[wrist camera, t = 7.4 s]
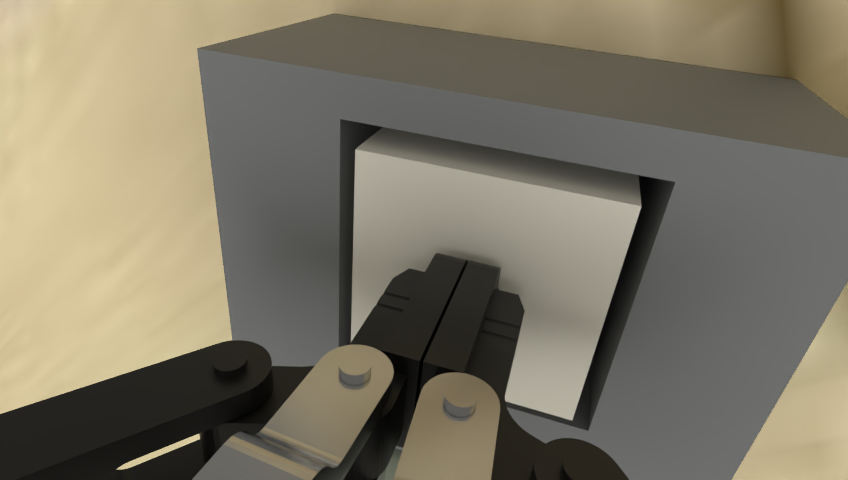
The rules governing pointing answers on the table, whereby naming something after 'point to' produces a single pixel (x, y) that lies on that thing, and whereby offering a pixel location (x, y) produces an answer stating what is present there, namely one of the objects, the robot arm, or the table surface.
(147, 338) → the table surface
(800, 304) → the console
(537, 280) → the tile
